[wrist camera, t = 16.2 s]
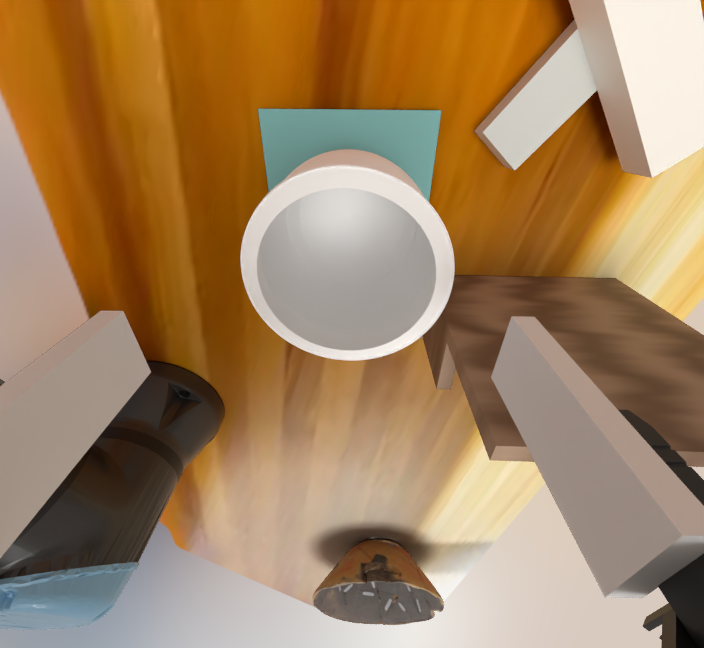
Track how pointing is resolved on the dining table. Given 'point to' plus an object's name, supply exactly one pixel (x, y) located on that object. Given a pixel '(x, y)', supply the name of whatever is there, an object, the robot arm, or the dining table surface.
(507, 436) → the wood grain panel
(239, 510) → the dining table surface
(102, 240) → the dining table surface
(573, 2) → the offcut top
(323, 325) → the jar
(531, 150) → the offcut low
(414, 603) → the bowl
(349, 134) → the mat
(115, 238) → the dining table surface
